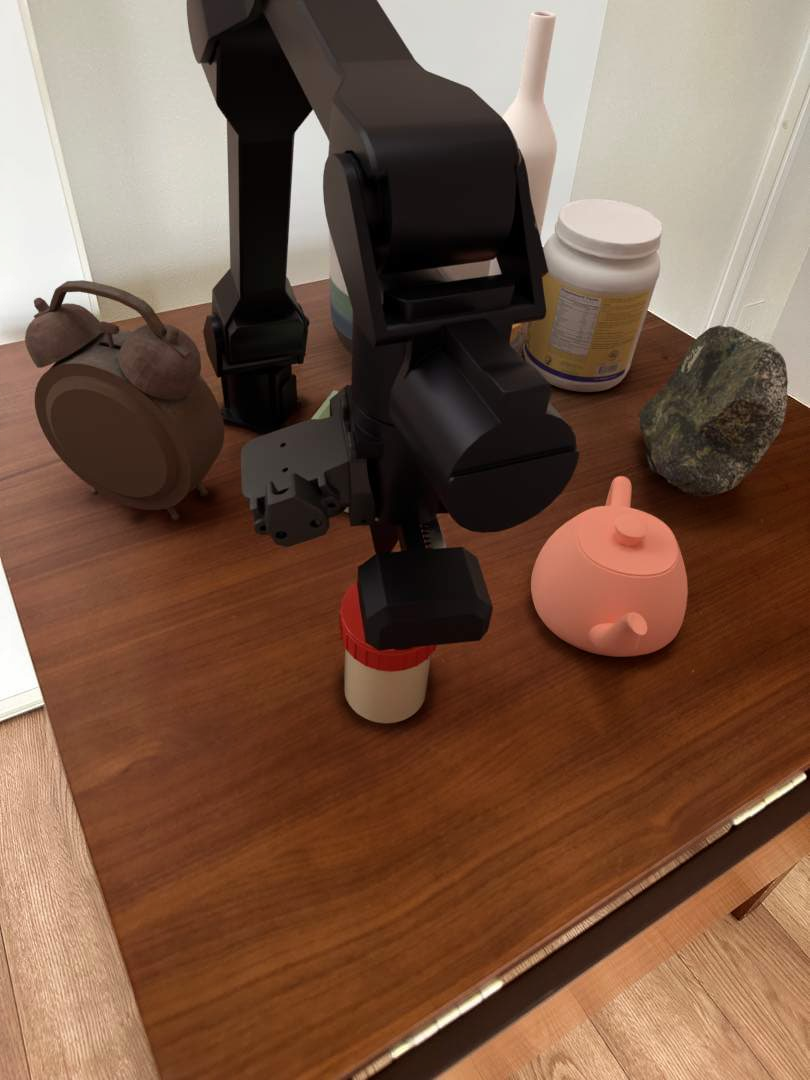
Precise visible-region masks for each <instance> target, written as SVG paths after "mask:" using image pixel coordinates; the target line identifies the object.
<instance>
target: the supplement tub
mask: <svg viewBox="0 0 810 1080" xmlns="http://www.w3.org/2000/svg"><path fill="white" fill-rule="evenodd" d="M559 210H560V211H559V213H558V216H557V221H556V222H555V224H554V232H553V234H551V235H550V236H549V238H548V239H547V240H546V241H545V244H544V246H543V251H544V255H545V259H546V263H547V268H548V273H547V274H546V275H545V276H543V277H542V282H543V289H544V297H545V304H546V316H545V318H544V319H542V320H537V321H531V322H527V328H526V332H525V333H526V334H525V339H524V343H523V358H524V360H525V361H526V362H528V363H529V364H531V365H533V366H534V367H535V368H536V369H537V370H538V371H539V372H540V373H541V374H542V375H543V376H544V378H545V379H546V380H547V381H548V382H549V383H550V385H551V386H554V387H556V388H559V389H562V390H567V391H571V392H577V393H595V392H602V391H603V392H604V391H607V390H609V389H612V388H613V387H615V386H617V385H618V384H619V383H621V382H622V381H623V379H624V378H625V377H626V375H627V374H628V372H629V371H630V369H631V365H632V361H633V357H634V354H635V351H636V348H637V344H638V342H639V339H640V335H641V332H642V329H643V326H644V322H645V319H646V317H647V313H648V310H649V307H650V303H651V300H652V297H653V294H654V291H655V288H656V285H657V282H658V279H659V277H660V271H661V259H660V256H659V253H658V250H660V247H661V238H662V234H663V230H664V228H663V227H664V226H663V224H662V222H661V221H660V219H659V218H658V217H656V216H655V215H654V214H653V213H651V212H650V211H648V210H647V209H644V208H642V207H639V206H638V205H634V204H631V203H627V202H624V201H620V200H613V199H604V198H586V199H585V198H584V199H578V200H574V201H571V202H568V203H566V204H565V205H563V206H562V207H561V208H560V209H559Z"/></svg>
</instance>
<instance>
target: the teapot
mask: <svg viewBox="0 0 810 1080" xmlns="http://www.w3.org/2000/svg"><path fill="white" fill-rule="evenodd" d="M632 487H633V486H632V483H631V480H630V479H629V478H628V477H627V476H624V475H619V476H616V477H614V479H613V480H612V482H611V484H610V487H609V491H608V494H607V497H606V501H605V504H604V505H599V506H595V507H591V508H589V509H587V510H585V511H582V512H581V513H578V514H577V515H575V516H574V517H572V518H571V519H569V520H567V521H566V522H565V523H564V524H563V525H561V526H560V527H559V528H558V529H556V530H555V531H554V532H553V533H552V534H551V535H550V536H549V538H548V539H547V540H546V541H545V543H544V545H543V546H542V547H541V550H540V551H539V554H538V555H537V556H536V557H537V558H536V560H535V562H534V565H533V569H532V573H531V578H530V591H531V598H532V603H533V605H534V608H535V611H536V613H537V614H538V615H537V616H539V618H540V620H541V621H542V622H543V623H544V625H545V626H546V627H547V628H548V629H549V630H550V631H551V632H552V633H553V634H554V635H556V636H557V637H558V638H559V639H561V641H562V640H563V641H564V642H565V643H567V644H569V645H571V646H573V647H575V648H577V649H580V650H582V651H585V652H588V653H591V654H594V655H600V656H607V657H621V658H622V657H624V658H625V657H638V656H643V655H648V654H651V653H654V652H657V651H659V650H661V649H663V648H664V647H666V646H667V645H669V644H670V643H671V642H673V640H674V639H675V638H676V637H677V635H678V633H679V631H680V630H681V627H682V625H683V623H684V620H685V619H684V618H685V614H686V611H687V603H688V594H689V591H688V589H689V588H688V587H689V586H688V576H687V571H686V567H685V566H686V565H685V562H684V558H683V555H682V552H681V548H680V545H679V543H678V541H677V538H676V536H675V534H674V533H673V531H672V530H671V528H670V527H669V526H668V525H667V524H666V523H665V522H664V521H663V520H661V519H660V518H658V517H656V516H655V515H653V514H651V513H648V512H645V511H643V510H640V509H636V508H633V507H631V503H632V491H633V490H632Z"/></svg>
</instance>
